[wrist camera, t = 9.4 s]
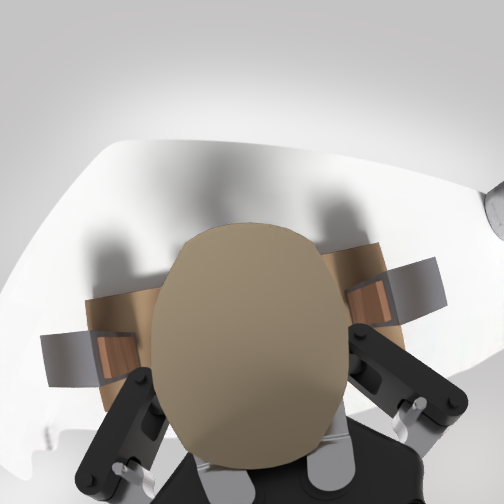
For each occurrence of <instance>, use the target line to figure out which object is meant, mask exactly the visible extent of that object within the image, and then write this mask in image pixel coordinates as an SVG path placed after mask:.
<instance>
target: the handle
mask: <svg viewBox="0 0 504 504" xmlns="http://www.w3.org/2000/svg"><path fill="white" fill-rule="evenodd" d="M348 369H349V343H348V323H347V315H346V308H345V305H344V302H343V300H342V297H341V294H340V291H339V289H338V287H337V285H336V283H335V281H334V279H333V277H332V275H331V273H330V271H329V269H328V267H327V266H326V264H325V262H324V260H323V258H322V257H321V255H320V253H319V251H318V250H317V248H316V246H315V244H314V243H313V242H312V241H310V240H308V239H307V238H305V237H304V236H302V235H300V234H298V233H296V232H294V231H292V230H290V229H287V228H283V227H279V226H275V225H271V224H261V223H237V224H228V225H224V226H219V227H215V228H211V229H209V230H207V231H205V232H203V233H201V234H198V235H197V236H195V237H194V238H192V239H190V240H189V241H187V242H186V243H185V244H184V246H183V248H182V250H181V251H180V253H179V255H178V257H177V259H176V260H175V262H174V264H173V266H172V268H171V270H170V272H169V274H168V275H167V277H166V279H165V281H164V283H163V286H162V288H161V290H160V292H159V295H158V298H157V301H156V303H155V306H154V311H153V318H152V327H151V370H152V378H153V385H154V389H155V392H156V395H157V398H158V400H159V403H160V406H161V408H162V409H163V411H164V413H165V415H166V417H167V419H168V421H169V423H170V425H171V426H172V428H173V430H174V431H175V433H176V435H177V436H178V438H179V440H180V441H181V443H182V445H183V446H184V448H185V449H186V450H187V451H188V452H190V453H192V454H193V455H195V456H197V457H198V458H200V459H203V460H205V461H207V462H210V463H212V464H215V465H219V466H224V467H229V468H237V469H261V468H271V467H275V466H279V465H283V464H287V463H290V462H293V461H295V460H297V459H299V458H301V457H303V456H305V455H306V454H308V453H309V452H311V451H313V450H314V449H316V448H317V446H318V445H319V443H320V441H321V440H322V438H323V436H324V434H325V433H326V431H327V429H328V427H329V425H330V424H331V422H332V420H333V418H334V416H335V414H336V412H337V410H338V407H339V405H340V403H341V401H342V398H343V395H344V392H345V389H346V386H347V378H348Z"/></svg>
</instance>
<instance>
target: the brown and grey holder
mask: <svg viewBox="0 0 504 504" xmlns="http://www.w3.org/2000/svg"><path fill="white" fill-rule="evenodd" d="M321 257H322V258H323V260H324V262H325V264H326V266H327V267H328V269H329V271H330V273H331V275H332V277H333V279H334V281H335V283H336V285H337V287H338V289H339V291H340V294H341V297H342V300H343V302H344V305H345V308H346V315H347V323H348V327H349V326H351V325H353V324H356V323H363V324H367V325H369V326H370V327H372V328H373V329H375V330H376V331H378V332H379V333H381V334H382V335H383V336H385V337H386V338H388V339H389V340H391V341H392V342H394V343H395V344H396V345H398V346H399V347H401V348H402V349H404V350H405V345H404V340H403V334H402V330H401V325H402V324H405V323H407V322H410V321H412V320H415V319H417V318H420V317H422V316H425V315H427V314H429V313H432V312H434V311H436V310H439V309H441V308H443V307H445V306H447V300H446V296H445V292H444V287H443V283H442V280H441V276H440V272H439V268H438V265H437V262H436V258H435V257H432V258H429V259H426V260H422V261H419V262H416V263H412V264H409V265H405V266H402V267H398V268H395V269H391V270H388V271H387V268H386V265H385V261H384V258H383V255H382V251H381V248H380V245H379V242H378V243H374V244H369V245H365V246H360V247H356V248H351V249H347V250H342V251H337V252H333V253H328V254H323V255H321ZM161 288H162V287H158V288H152V289H147V290H141V291H136V292H130V293H125V294H119V295H114V296H108V297H102V298H96V299H91V300H85V307H86V316H87V324H88V331H80V332H71V333H62V334H52V335H42V336H40V338H41V346H42V353H43V359H44V365H45V370H46V375H47V380H48V385H49V387H71V388H79V387H99V390H100V394H101V398H102V402H103V406H104V409H105V412H108V411H109V409H110V407H111V405H112V404H113V402H114V400H115V398H116V396H117V395H118V393H119V391H120V389H121V388H122V386H123V384H124V382H125V381H126V379H127V377H128V375H129V374H130V373H131V372H132V371H133V370H134V369H136V368H139V367H148V368H150V369H151V327H152V318H153V311H154V306H155V303H156V301H157V298H158V295H159V292H160V290H161Z"/></svg>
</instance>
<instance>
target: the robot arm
mask: <svg viewBox="0 0 504 504" xmlns="http://www.w3.org/2000/svg"><path fill="white" fill-rule="evenodd" d="M485 208H486V213H487V216H488V220H489V222H490V224H491V226H492V228H493V230H494V231H495V233H496V234H497V236H498V237H499V238H500V239H502V240H503V241H504V181H503V182H502V183H500V184H499V185H498V186H496V187H495V188H494V189H492V190H491V191H490V192H488V193H487V195H486V198H485ZM348 343H349V369H348V378H347V381H349V382H350V383H351V384H352V385H353V386H354V387H356V388H357V389H358V390H359V391H360V392H361V393H363V394H364V395H365V396H366V397H367V398H369V399H370V400H371V401H372V402H373V403H375V404H376V405H377V406H378V407H379V408H381V409H382V410H383V411H384V412H385V413H387V414H388V415H389V416H390V417H391V418H393V420H392V428H393V430H394V432H395V433H396V434H397V435H398V437H399V439H400V442H399V441H396V440H394V439H392V438H390V437H387V436H386V435H383V434H381V433H379V432H377V431H375V430H373V429H371V428H369V427H367V426H365V425H363V424H361V423H359V422H357V421H355V420H353V419H351V418H349V417H348V416H346V414H345V408H344V402H343V398H342V401H341V403H340V405H339V407H338V410H337V412H336V414H335V416H334V418H333V420H332V422H331V424H330V425H329V427H328V429H327V431H326V433H325V434H324V436H323V438H322V440H321V441H320V443H319V445H318V446H317V448H316V449H314V450H313V451H311V452H309V453H308V454H306V455H305V456H303V457H301V458H299V459H297V460H295V461H293V462H290V463H287V464H283V465H279V466H275V467H271V468H261V469H237V468H229V467H224V466H219V465H215V464H212V463H210V462H207V461H205V460H203V459H200V458H198V457H197V456H195V455H193V454H192V453H190V452H188V453H187V454H186V456H185V457H184V459H183V460H182V461H181V463H180V464H179V466H178V467H177V468H176V470H175V471H174V473H173V474H172V475H171V476H170V478H169V479H168V480H167V482H166V483H165V484H164V486H163V487H162V488H161V490H160V491H159V492H158V494H157V495H156V496H155V494H154V484H155V480H154V477H153V475H152V474H151V472H150V469H151V466H152V464H153V461H154V459H155V456H156V454H157V452H158V449H159V447H160V444H161V442H162V440H163V437H164V435H165V433H166V430H167V428H168V425H169V421H168V419H167V417H166V415H165V413H164V411H163V409H162V408H161V406H160V403H159V400H158V398H157V395H156V392H155V389H154V385H153V378H152V370H151V369H150V368H148V367H139V368H136V369H134V370H133V371H132V372H131V373H130V374H129V375H128V377H127V379H126V381H125V382H124V384H123V386H122V388H121V389H120V391H119V393H118V395H117V396H116V398H115V400H114V402H113V404H112V405H111V407H110V409H109V411H108V413H107V415H106V416H105V418H104V420H103V422H102V424H101V426H100V427H99V429H98V431H97V433H96V435H95V437H94V439H93V441H92V443H91V444H90V446H89V449H88V450H87V452H86V454H85V456H84V458H83V460H82V462H81V464H80V466H79V468H78V470H77V472H76V475H75V484H76V486H77V488H78V489H79V490H80V491H81V492H82V493H84V494H85V495H88V496H90V497H92V498H93V499H95V500H97V501H99V502H102V503H104V504H426V503H425V501H424V497H423V476H424V465H423V461H422V458H423V457H424V456H425V455H426V453H427V452H428V451H429V450H430V449H431V448H432V446H433V445H434V444H435V443H436V441H437V440H438V439H440V438H441V436H443V434H444V433H445V432H446V431H447V430H448V429H449V428H450V427H451V426H452V425H453V424H454V423H455V422H456V421H457V420H458V419H459V418H460V416H461V415H462V414H463V413H464V412H465V411H466V409H467V406H468V398H467V395H466V394H465V393H464V392H463V391H462V390H461V389H459V388H458V387H457V386H455V385H454V384H452V383H451V382H450V381H448V380H447V379H445V378H444V377H442V376H441V375H440V374H438V373H437V372H435V371H434V370H432V369H431V368H430V367H428V366H427V365H425V364H424V363H422V362H421V361H419V360H418V359H417V358H415V357H414V356H412V355H411V354H409V353H408V352H407V351H405V350H404V349H402V348H401V347H399V346H398V345H396V344H395V343H394V342H392V341H391V340H389V339H388V338H386V337H385V336H383V335H382V334H381V333H379V332H378V331H376V330H375V329H373V328H372V327H370V326H369V325H367V324H363V323H356V324H353V325H351V326H349V327H348Z"/></svg>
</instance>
